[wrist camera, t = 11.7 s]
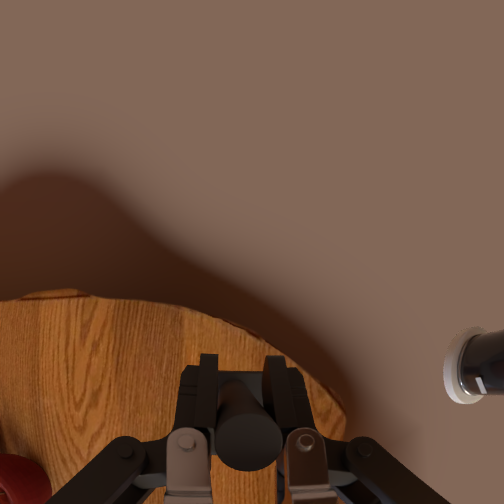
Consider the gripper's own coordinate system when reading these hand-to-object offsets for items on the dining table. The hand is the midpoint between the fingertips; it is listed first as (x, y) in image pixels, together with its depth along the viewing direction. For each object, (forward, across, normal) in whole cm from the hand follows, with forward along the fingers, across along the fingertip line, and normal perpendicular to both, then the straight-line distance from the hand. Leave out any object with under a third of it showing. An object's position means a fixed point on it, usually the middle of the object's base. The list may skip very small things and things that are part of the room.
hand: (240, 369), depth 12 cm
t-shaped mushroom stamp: (+5, 0, +8) cm, 9 cm away
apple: (-1, +26, +29) cm, 39 cm away
